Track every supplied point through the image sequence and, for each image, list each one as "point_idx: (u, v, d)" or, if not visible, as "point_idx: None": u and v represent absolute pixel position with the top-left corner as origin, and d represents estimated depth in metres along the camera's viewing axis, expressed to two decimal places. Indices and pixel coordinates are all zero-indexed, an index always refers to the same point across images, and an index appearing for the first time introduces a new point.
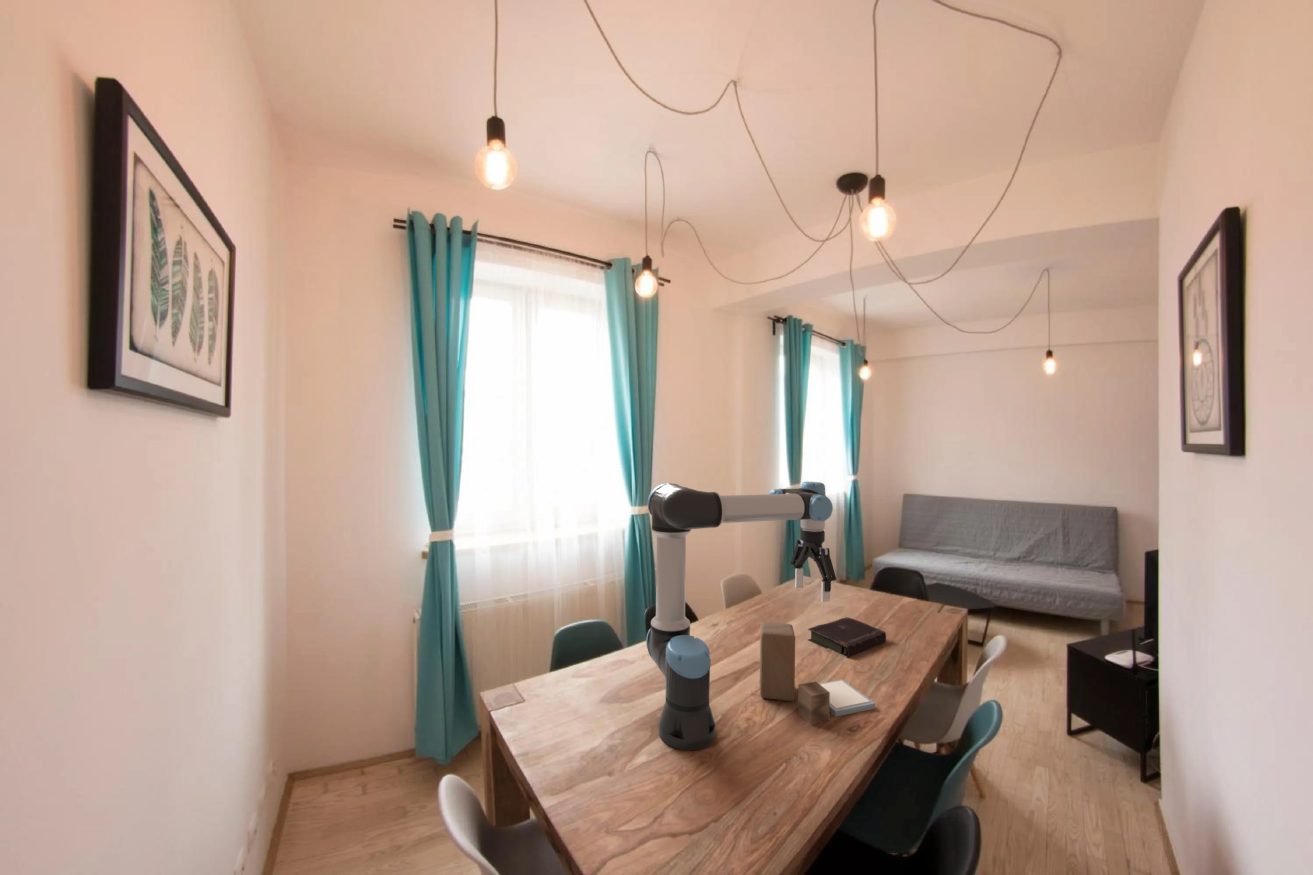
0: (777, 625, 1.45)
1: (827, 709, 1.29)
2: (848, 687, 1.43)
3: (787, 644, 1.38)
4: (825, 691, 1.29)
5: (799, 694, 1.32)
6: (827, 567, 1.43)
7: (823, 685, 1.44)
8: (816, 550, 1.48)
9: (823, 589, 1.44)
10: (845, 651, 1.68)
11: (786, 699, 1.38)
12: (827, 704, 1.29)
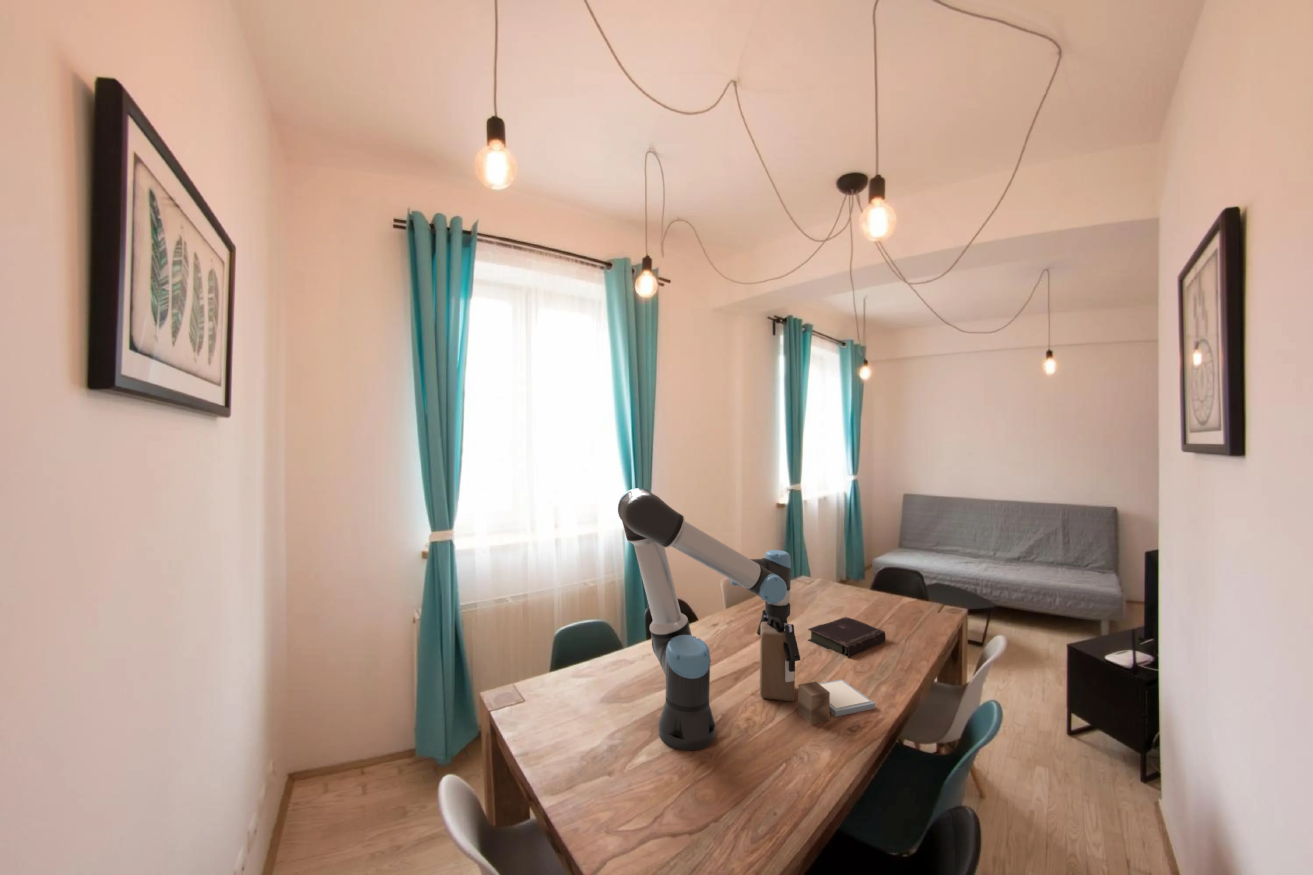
0: None
1: (827, 709, 1.29)
2: (848, 687, 1.43)
3: None
4: (825, 691, 1.29)
5: (799, 694, 1.32)
6: (791, 646, 1.35)
7: (823, 685, 1.44)
8: (780, 625, 1.40)
9: (787, 669, 1.36)
10: (846, 651, 1.68)
11: (786, 699, 1.38)
12: (827, 704, 1.29)
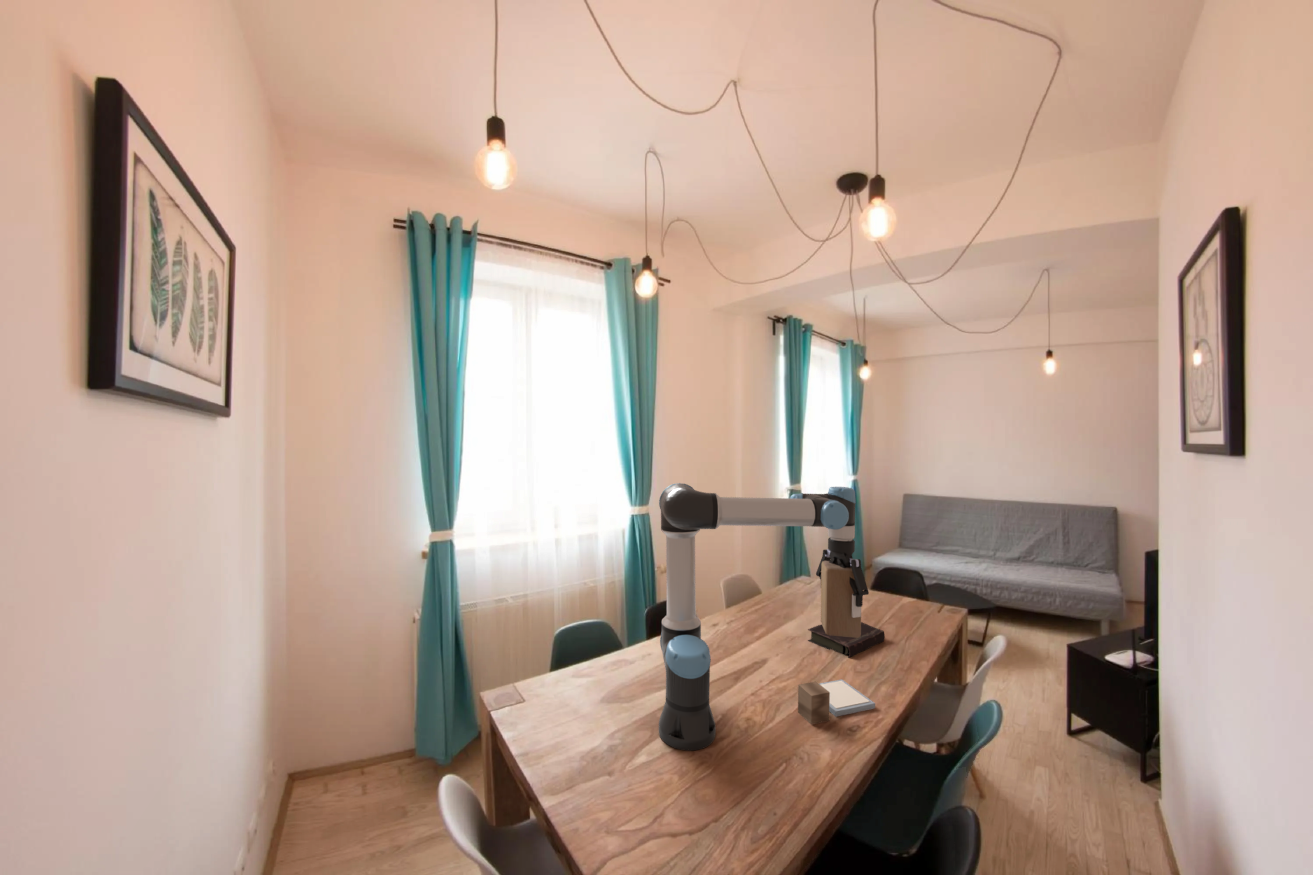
0: None
1: (827, 709, 1.29)
2: (848, 687, 1.43)
3: None
4: (825, 691, 1.29)
5: (799, 694, 1.32)
6: (859, 580, 1.31)
7: (823, 685, 1.44)
8: (846, 561, 1.36)
9: (854, 604, 1.33)
10: (846, 651, 1.68)
11: (852, 636, 1.34)
12: (827, 704, 1.29)
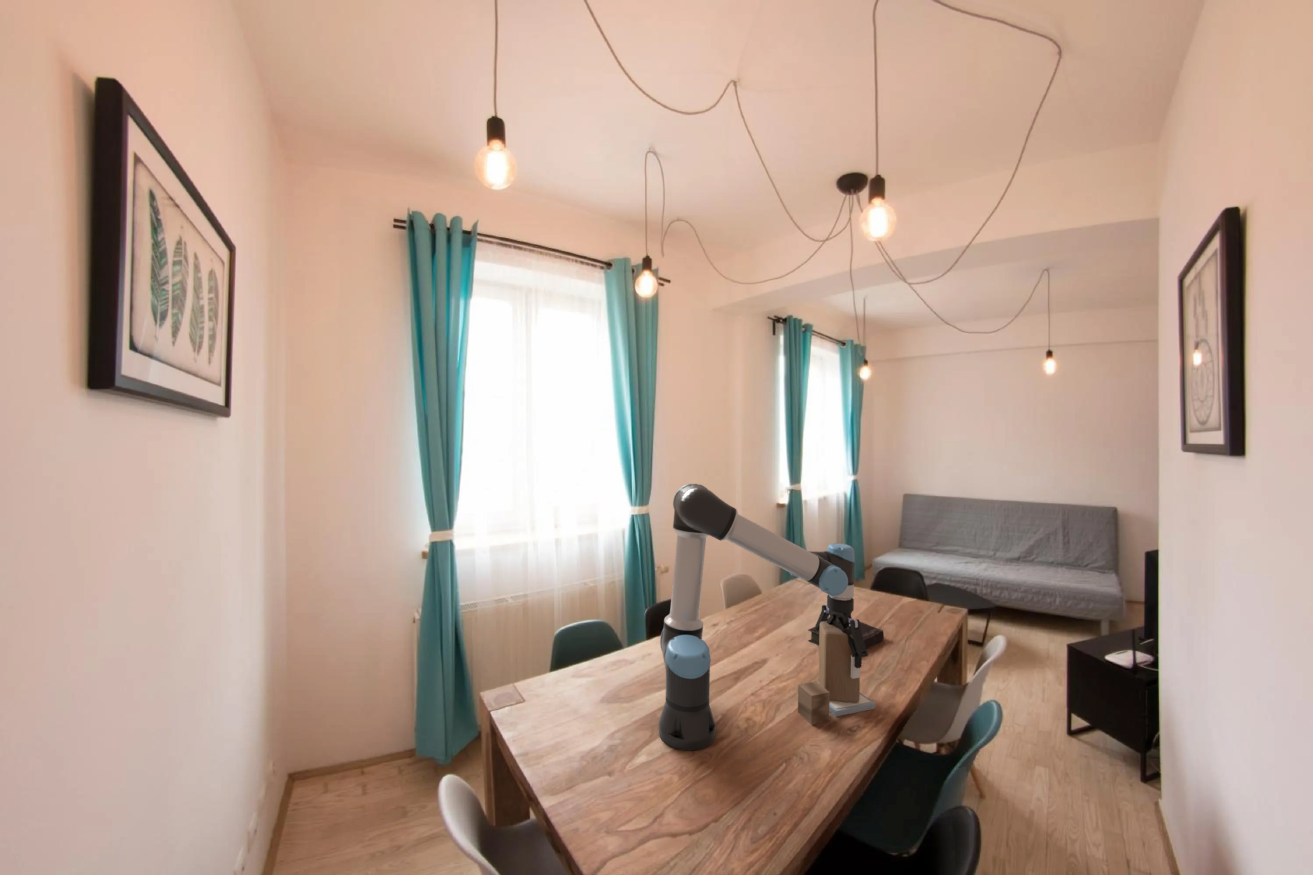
0: None
1: (827, 709, 1.29)
2: None
3: None
4: (825, 691, 1.29)
5: (799, 694, 1.32)
6: (858, 642, 1.31)
7: None
8: (845, 621, 1.36)
9: (853, 665, 1.33)
10: None
11: (851, 701, 1.35)
12: (827, 704, 1.29)
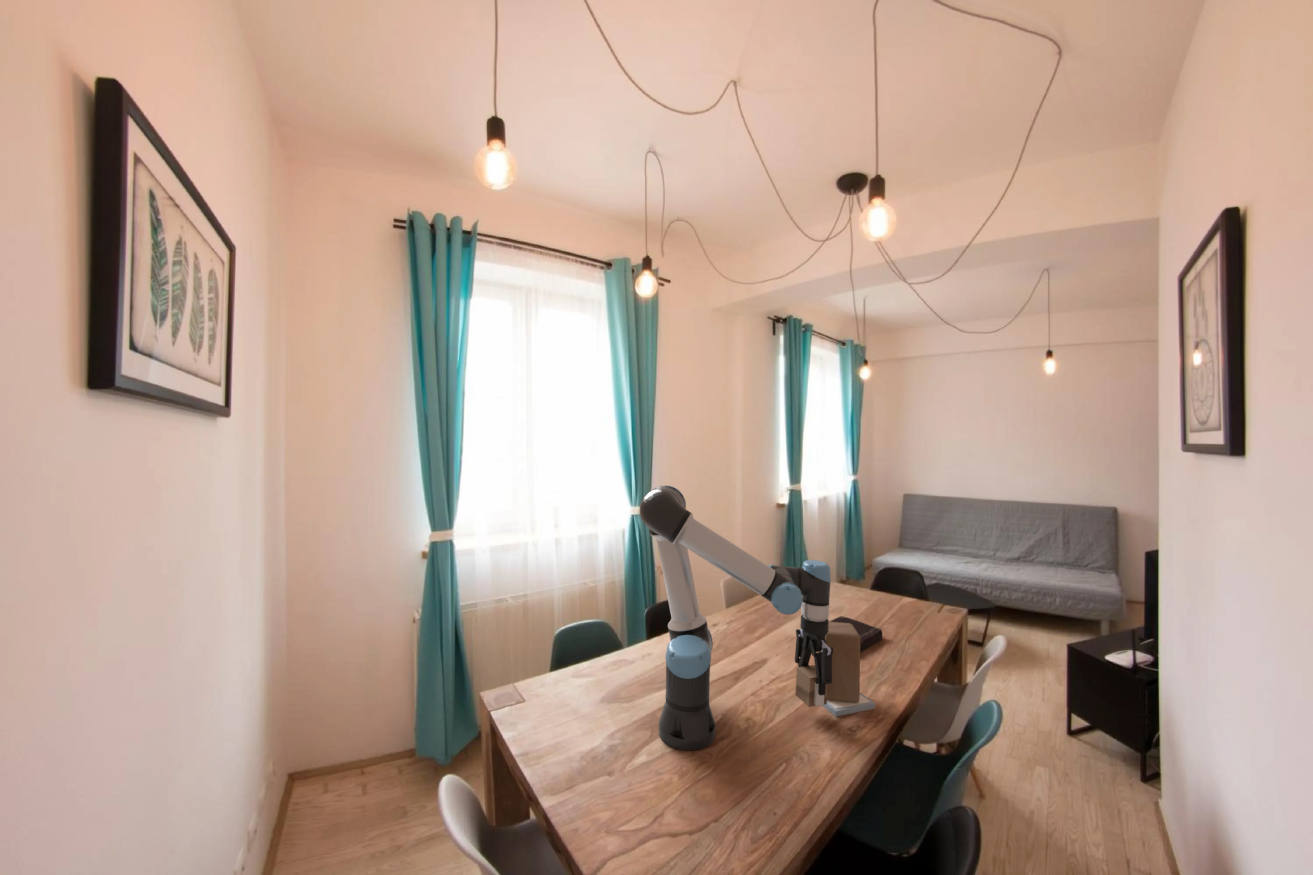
0: (838, 625, 1.41)
1: (825, 692, 1.29)
2: None
3: (852, 644, 1.34)
4: None
5: (798, 676, 1.32)
6: (825, 670, 1.25)
7: None
8: (818, 644, 1.27)
9: (817, 692, 1.27)
10: None
11: (851, 701, 1.35)
12: None
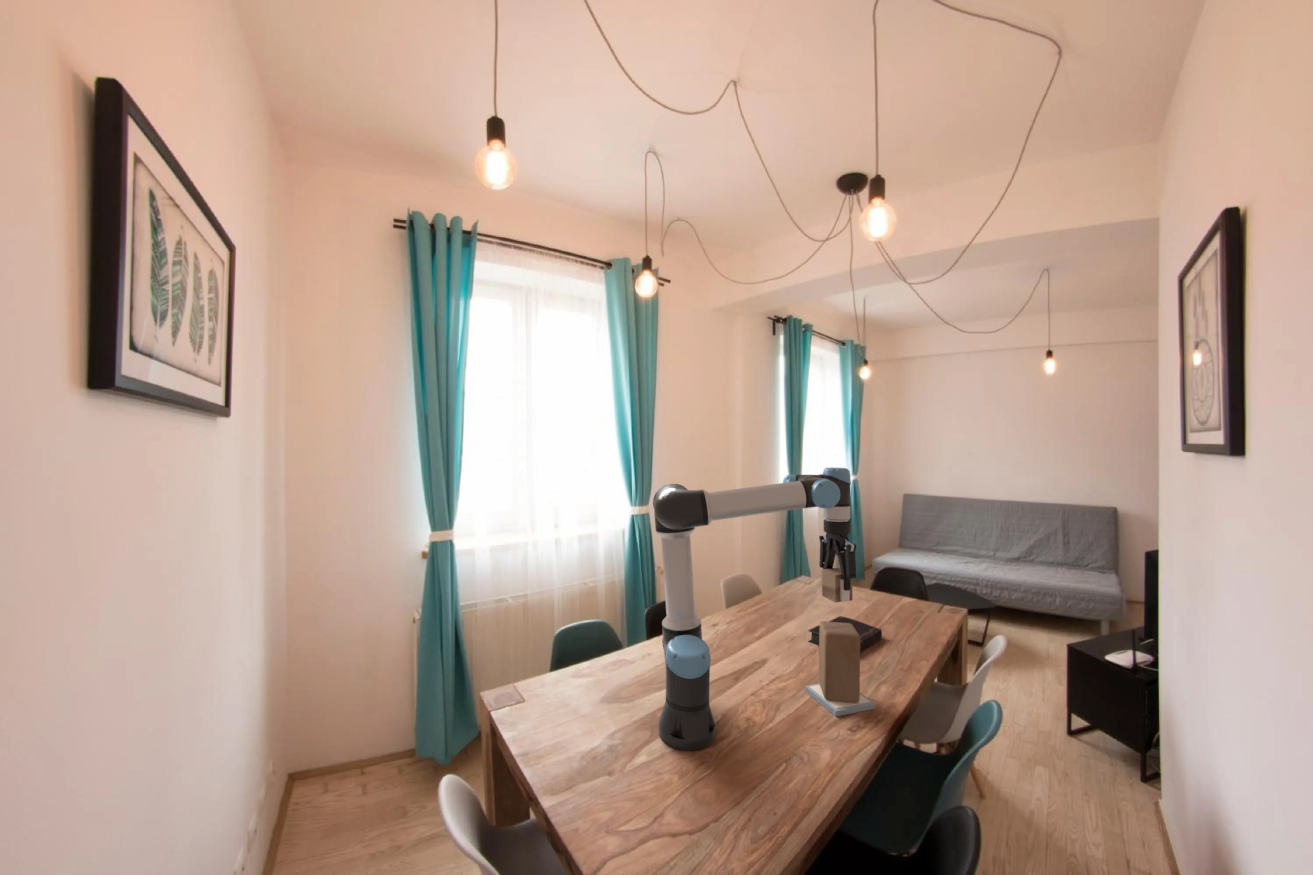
0: (838, 625, 1.41)
1: (850, 589, 1.36)
2: None
3: (852, 644, 1.34)
4: None
5: (823, 577, 1.39)
6: (849, 565, 1.32)
7: None
8: (841, 542, 1.34)
9: (842, 588, 1.34)
10: None
11: (851, 701, 1.35)
12: None
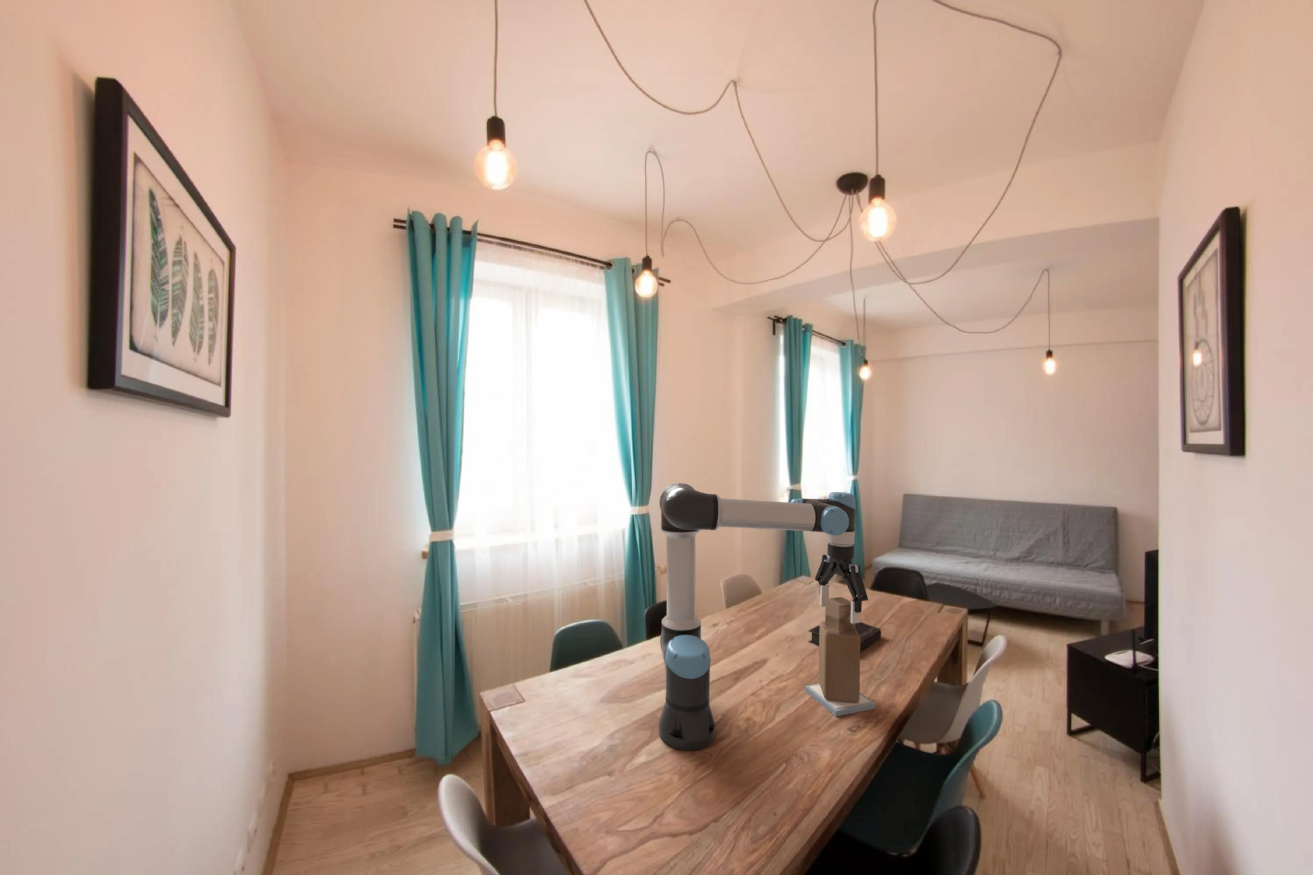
0: None
1: None
2: None
3: (852, 644, 1.34)
4: None
5: (827, 607, 1.41)
6: (858, 586, 1.31)
7: None
8: (845, 567, 1.36)
9: (853, 610, 1.33)
10: None
11: (851, 701, 1.35)
12: None
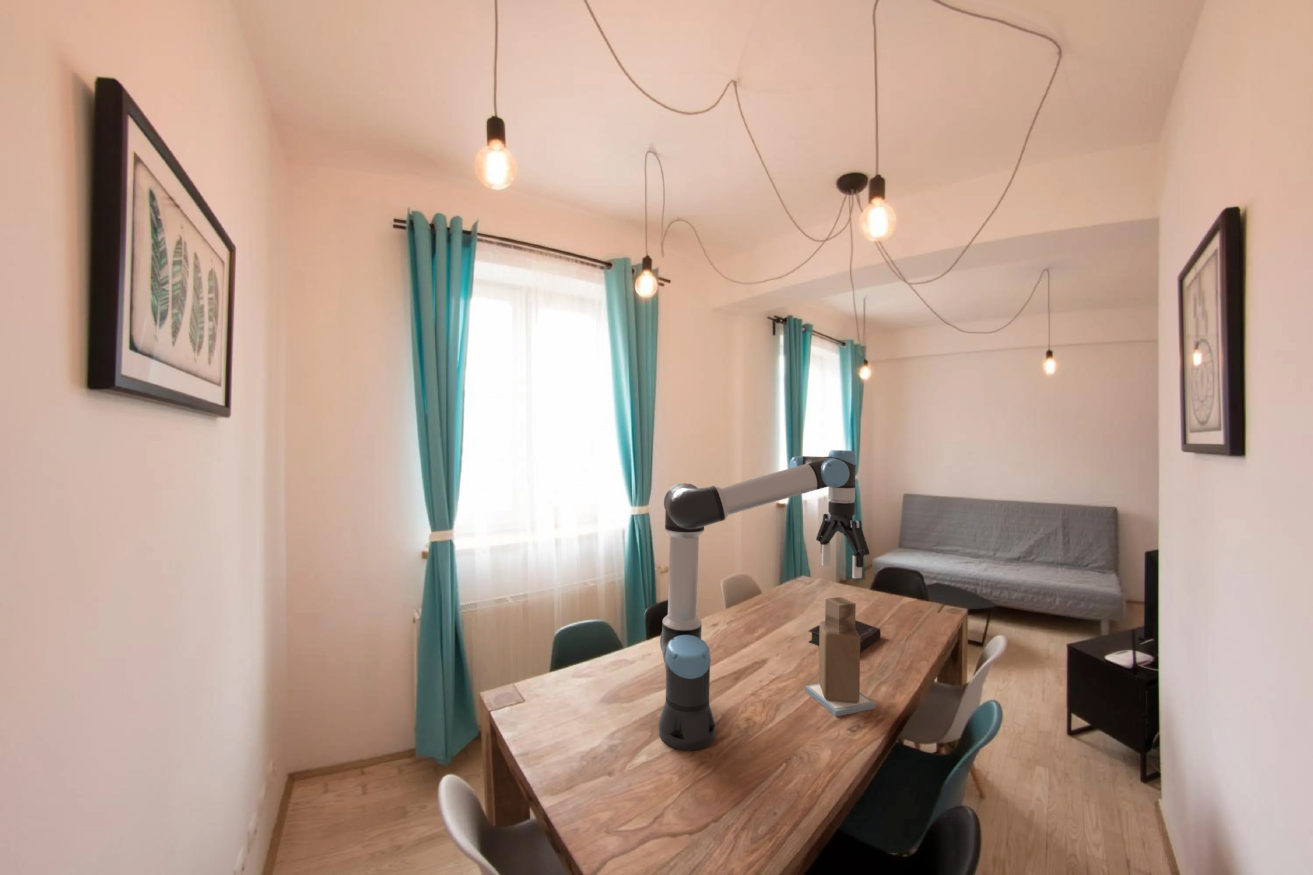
0: None
1: (853, 619, 1.38)
2: None
3: (852, 644, 1.34)
4: (851, 603, 1.38)
5: (827, 607, 1.41)
6: (859, 540, 1.31)
7: None
8: (846, 523, 1.36)
9: (855, 565, 1.33)
10: None
11: (851, 701, 1.35)
12: (853, 614, 1.38)
